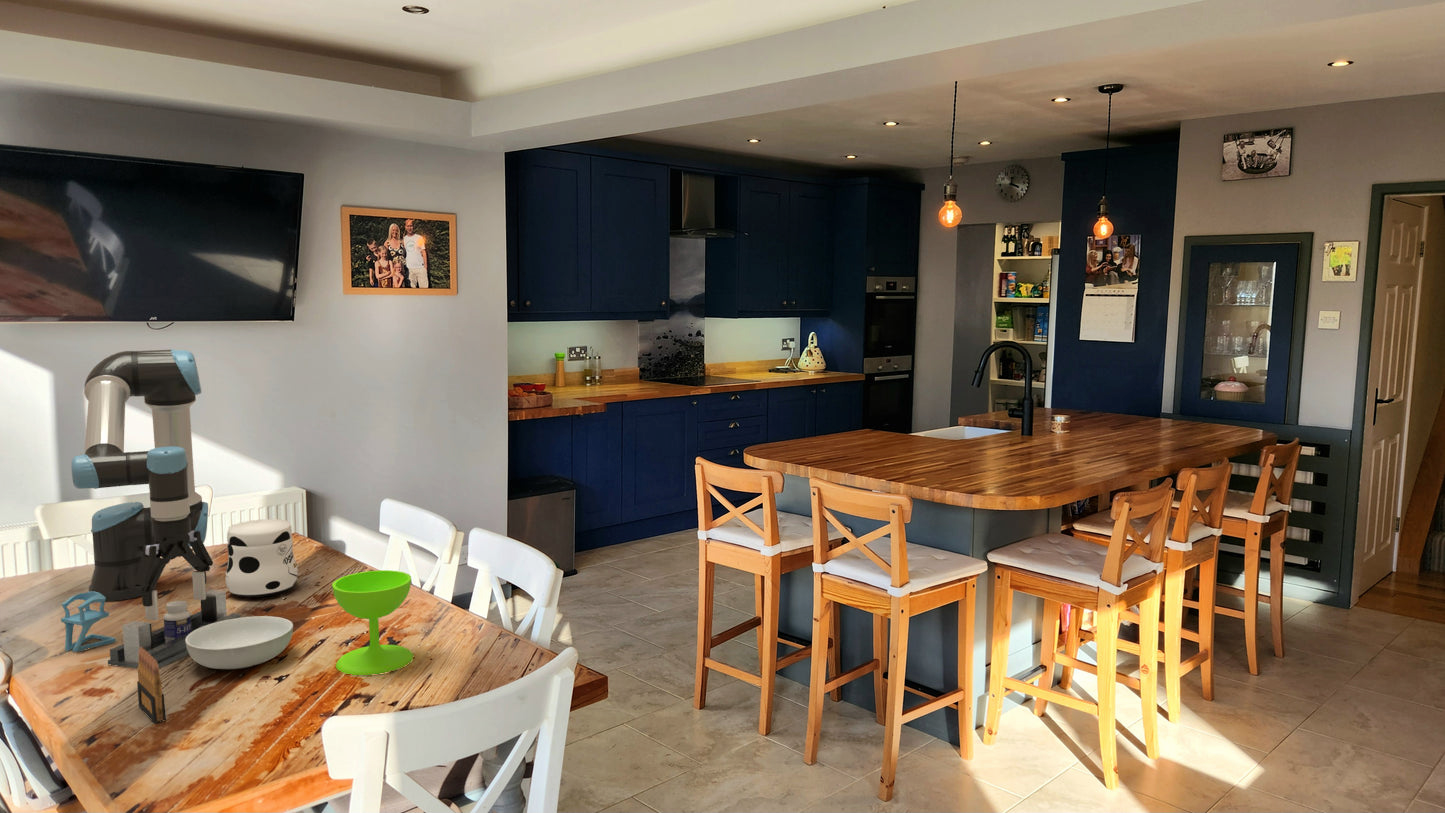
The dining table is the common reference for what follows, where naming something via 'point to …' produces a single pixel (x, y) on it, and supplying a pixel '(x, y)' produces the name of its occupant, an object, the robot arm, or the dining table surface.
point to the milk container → (260, 558)
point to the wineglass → (373, 618)
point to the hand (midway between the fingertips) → (176, 609)
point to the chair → (85, 621)
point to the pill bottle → (176, 620)
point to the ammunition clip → (150, 687)
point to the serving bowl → (239, 641)
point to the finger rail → (154, 642)
